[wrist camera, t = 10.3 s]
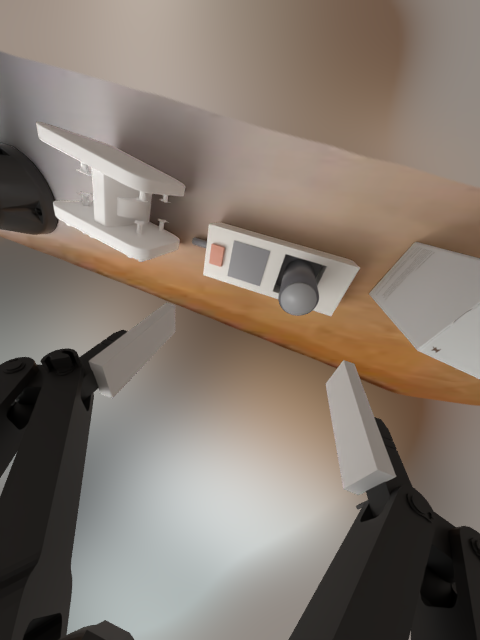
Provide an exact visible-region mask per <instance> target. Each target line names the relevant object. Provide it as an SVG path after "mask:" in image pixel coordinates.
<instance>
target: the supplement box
mask: <svg viewBox="0 0 480 640" xmlns="http://www.w3.org/2000/svg"><path fill="white" fill-rule="evenodd" d="M369 295H370V296H371V297H372V298H373V299H374V300H375V302H376V303H377V304H378V305H379V306H380V307H381V309H382V310H383V311H384V312H385V313H386V314H387V316H388V317H389V318H390V319H391V320H392V321H393V323H394V324H395V325H396V326H397V327H398V328H399V329H400V331H401V332H402V333H403V334H404V335H405V336H406V338H407V339H408V340H409V341H410V342H411V344H412V345H413V346H414V347H415V348H416V349H417V350H418V351H420V352H422V353H424V354H426V355H428V356H430V357H433V358H435V359H437V360H439V361H441V362H444V363H446V364H448V365H450V366H452V367H454V368H457V369H459V370H461V371H463V372H465V373H467V374H470V375H472V376H474V377H476V378H478V379H480V258H476V257H473V256H469V255H465V254H461V253H457V252H453V251H450V250H446V249H442V248H438V247H435V246H431V245H427V244H423V243H420V242H414V243H413V244H412V246H411V247H410V248H409V249H408V250H407V251H406V252H405V253H404V255H403V256H402V257H401V258H400V259H399V260H398V261H397V262H396V264H395V265H394V266H393V267H392V268H391V269H390V270H389V271H388V273H387V274H386V275H385V276H384V277H383V278H382V279H381V280H380V282H379V283H378V284H377V285H376V286H375V287H374V288H373V289H372V291H371V292H370V293H369Z"/></svg>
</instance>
